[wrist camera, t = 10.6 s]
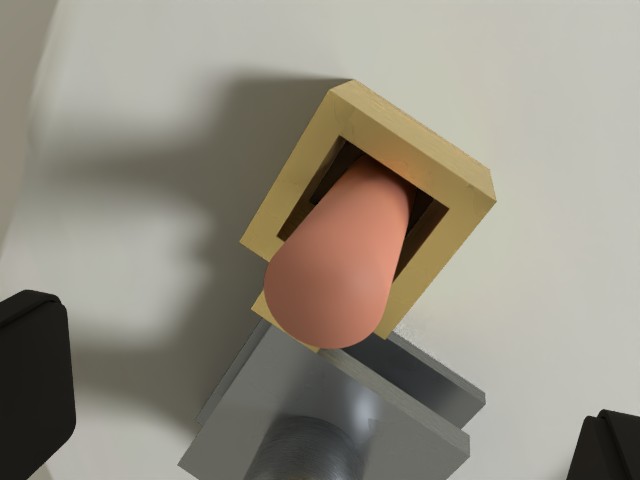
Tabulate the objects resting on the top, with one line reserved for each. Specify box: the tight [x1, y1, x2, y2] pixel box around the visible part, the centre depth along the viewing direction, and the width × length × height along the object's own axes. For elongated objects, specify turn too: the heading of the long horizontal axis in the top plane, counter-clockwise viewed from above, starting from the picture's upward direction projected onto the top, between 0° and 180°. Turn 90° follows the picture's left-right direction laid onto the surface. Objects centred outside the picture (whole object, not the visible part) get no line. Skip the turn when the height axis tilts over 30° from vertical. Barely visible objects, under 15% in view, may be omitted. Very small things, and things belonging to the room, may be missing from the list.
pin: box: [264, 154, 416, 349], centre depth 18 cm, size 3×3×10 cm
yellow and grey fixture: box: [177, 79, 497, 480], centre depth 18 cm, size 12×18×15 cm
